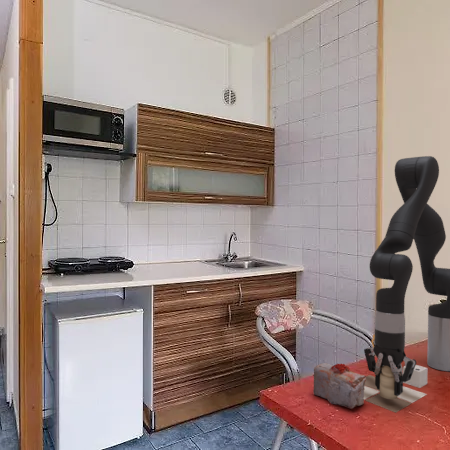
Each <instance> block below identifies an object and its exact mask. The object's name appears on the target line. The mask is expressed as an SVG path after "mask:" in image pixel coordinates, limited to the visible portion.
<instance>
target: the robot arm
mask: <svg viewBox="0 0 450 450" xmlns="http://www.w3.org/2000/svg"><path fill="white" fill-rule="evenodd" d="M439 175H440V167H439V162H438V160H437V159H436V157H435V156H431V155H428V156H427V155H426V156H413V157H406V158H400V159H398V160H397V161H396V162H395V166H394V178H395V182H396V185H397V188H398V191H399V193H400V196H401V198H402V201H403V204H402V205H401V206H400V207H398V208H397V210H396V211H395V212H394V213H393V215H392V217H391V218H390V220H389V223H388V227H387V229H386V232H385V236H384V238H383V239H382V241H381V242H380V244H379V246H378V247H377V248H376V250H375V251H374V252H373V254H372V255H371V258H370V261H369V272H370V274H371V275H372V276H373V277H374V278H376V279H379V280H387V281H388V280H389V281H393V284H392V286H391V287H382V288H379V289H378V290H377V291H376V293H375V296H376V297H375V298H376V299H375V316H374V334H375V337H374V341H373V343H374V348H373V347H371V346H370V347H366V348H364V350H363V352H364V356H365V361H366V364H367V369H368V371H370V372H373V374H374V377H375V385H376V386H377V389H379V390H380V373H382V367H383V366H388V367H390V368H391V370H392V373H393V374H394V378H395V382H394V395H396V396H399V395H400V394H401V393H402V392H403V386H404V383H403V382H406V381H408V380H410V379H411V376H412V374H413V371H414V368H415V365H417V360H416V358H413V359H412V358H409V357H408V356H407V354H406V351H405V346H406V341H405V340H406V317H405V299H406V298H405V297H406V294H407V293H406V292H407V289H408V286H409V282H410V280H411V277H412V275H413V274H412V273H413V270H414V268H413V267H414V266H413V265H414V264H413V262H412V260H411V259H410V257H409V256H408V255H406V254H401V252H405V251H408V250H410V249H411V247H412V245H413V242H414V245H415V247H416V251H417V255H418V258H419V259H418V261H419V265H420V270H421V276H422V277H421V278H422V283H423V286H424V290H425V291H426V292H427V293H428V294H430V295H435V296H437V295H438V296H444V297H446V300H445V301H443V302H440V303H436V304H430V305H429V306H428V309H427V310H428V311H427V354H426V355H427V357H426V358H427V359H426V360H427V361H426V362H427V364H426V365H427V366H428V367H430V368H433V369H436V370H439V371H443V372H444V371H445V372H450V268H445V267H444V268H443V267H436V266H435V259H436V256H437V255H438V254H439V253H440V251H441V249H442V248H443V246H444V245H445V242H446V238H447V235H446V230H445V226H444V221H443V218H442V217H441V215H439V213H438V212H437V211H436V209H434V208H433V207H431V205H429V204H428V202H429V200H430V197H432V196H431V195H432V194H433V191H434V189H435V187H436V185H437V182H438V180H439ZM375 356H376V358H375ZM403 362H404V366H406V368H405V371H404V374H403V366H402V365H403V364H402V363H403Z"/></svg>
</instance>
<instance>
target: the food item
mask: <svg viewBox="0 0 450 450" xmlns="http://www.w3.org/2000/svg"><path fill="white" fill-rule="evenodd" d="M366 376H367V375H364V374H359V373H356V372H354V371H350V367H349V366H348V365H346V364H345V363H336V364H334V365H333V364H330V363H328V362H326V363H325V362H322V363H320V364H318V365H315V367H314V368H313V392H312V394H313V395H315V396H318V397H320V398H323V399H325V400H327V401H328V402H329V403H330V404H331V405H338V406H341V407H345V408H348V409H351V410H352V409H354V408H355V407H359V406H363V405H364V403H365V402H364V401H365V400H364V390H365V389H364V386H365V382H366Z"/></svg>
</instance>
